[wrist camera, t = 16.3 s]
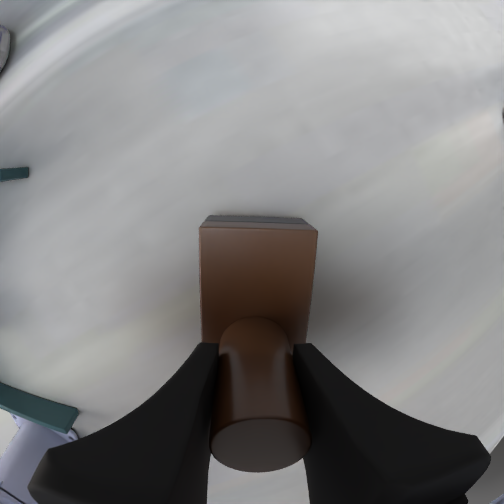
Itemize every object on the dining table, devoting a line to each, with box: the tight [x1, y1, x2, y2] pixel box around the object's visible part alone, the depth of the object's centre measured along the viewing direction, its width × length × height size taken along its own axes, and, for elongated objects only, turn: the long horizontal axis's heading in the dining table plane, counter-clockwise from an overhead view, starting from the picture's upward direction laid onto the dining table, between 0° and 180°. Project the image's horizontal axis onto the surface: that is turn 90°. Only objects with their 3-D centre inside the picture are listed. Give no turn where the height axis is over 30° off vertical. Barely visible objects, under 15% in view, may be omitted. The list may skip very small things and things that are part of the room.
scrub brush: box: [199, 215, 318, 472], centre depth 10 cm, size 9×4×8 cm, turn 178°
